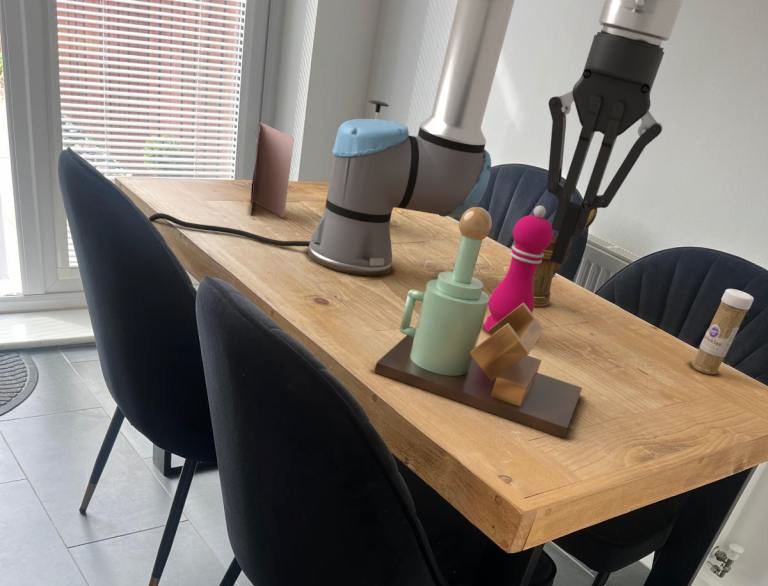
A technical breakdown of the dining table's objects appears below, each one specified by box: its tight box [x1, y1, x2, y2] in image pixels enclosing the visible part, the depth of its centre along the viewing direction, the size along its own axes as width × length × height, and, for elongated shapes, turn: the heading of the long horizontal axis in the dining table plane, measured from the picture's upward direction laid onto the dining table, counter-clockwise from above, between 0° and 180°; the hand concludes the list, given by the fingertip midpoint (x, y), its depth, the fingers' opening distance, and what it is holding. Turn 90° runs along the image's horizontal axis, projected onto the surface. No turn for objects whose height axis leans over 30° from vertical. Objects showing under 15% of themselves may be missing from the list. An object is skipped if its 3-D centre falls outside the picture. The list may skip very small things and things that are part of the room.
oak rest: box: [470, 303, 545, 407], centre depth 100 cm, size 8×11×10 cm
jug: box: [399, 206, 493, 376], centre depth 99 cm, size 16×8×20 cm
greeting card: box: [250, 122, 295, 219], centre depth 151 cm, size 11×7×15 cm, turn 6°
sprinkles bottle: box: [691, 288, 755, 375], centre depth 125 cm, size 5×5×13 cm
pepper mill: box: [484, 205, 554, 334], centre depth 118 cm, size 7×7×20 cm
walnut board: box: [374, 335, 583, 439], centre depth 104 cm, size 26×15×2 cm, turn 69°
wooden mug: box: [533, 208, 598, 307], centre depth 138 cm, size 9×14×18 cm, turn 111°
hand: (557, 260), depth 92 cm, fingers closed
